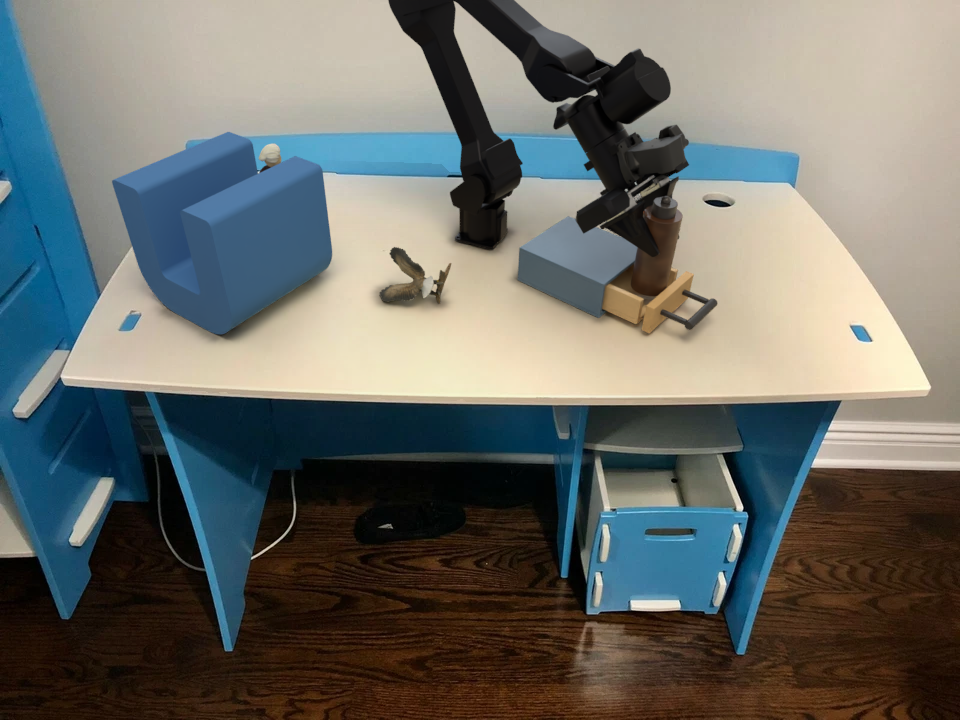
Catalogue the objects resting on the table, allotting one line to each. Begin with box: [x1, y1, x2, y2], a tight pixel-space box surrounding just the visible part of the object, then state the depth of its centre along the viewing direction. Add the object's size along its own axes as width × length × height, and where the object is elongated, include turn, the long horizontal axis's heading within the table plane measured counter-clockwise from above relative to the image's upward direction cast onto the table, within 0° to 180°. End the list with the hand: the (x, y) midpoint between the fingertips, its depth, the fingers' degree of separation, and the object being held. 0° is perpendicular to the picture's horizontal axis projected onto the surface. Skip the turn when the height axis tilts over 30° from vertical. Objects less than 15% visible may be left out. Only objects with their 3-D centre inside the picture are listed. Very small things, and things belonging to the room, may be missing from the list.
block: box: [111, 131, 333, 335], centre depth 100 cm, size 18×18×18 cm
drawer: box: [602, 264, 718, 334], centre depth 103 cm, size 18×11×4 cm, turn 50°
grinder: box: [631, 196, 684, 296], centre depth 98 cm, size 5×5×13 cm
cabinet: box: [517, 215, 637, 319], centre depth 108 cm, size 14×12×6 cm
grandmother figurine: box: [258, 143, 282, 174], centre depth 118 cm, size 8×4×13 cm, turn 58°
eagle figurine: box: [379, 246, 452, 304], centre depth 104 cm, size 8×7×9 cm
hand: (666, 247), depth 97 cm, fingers closed on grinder, 5 cm apart
